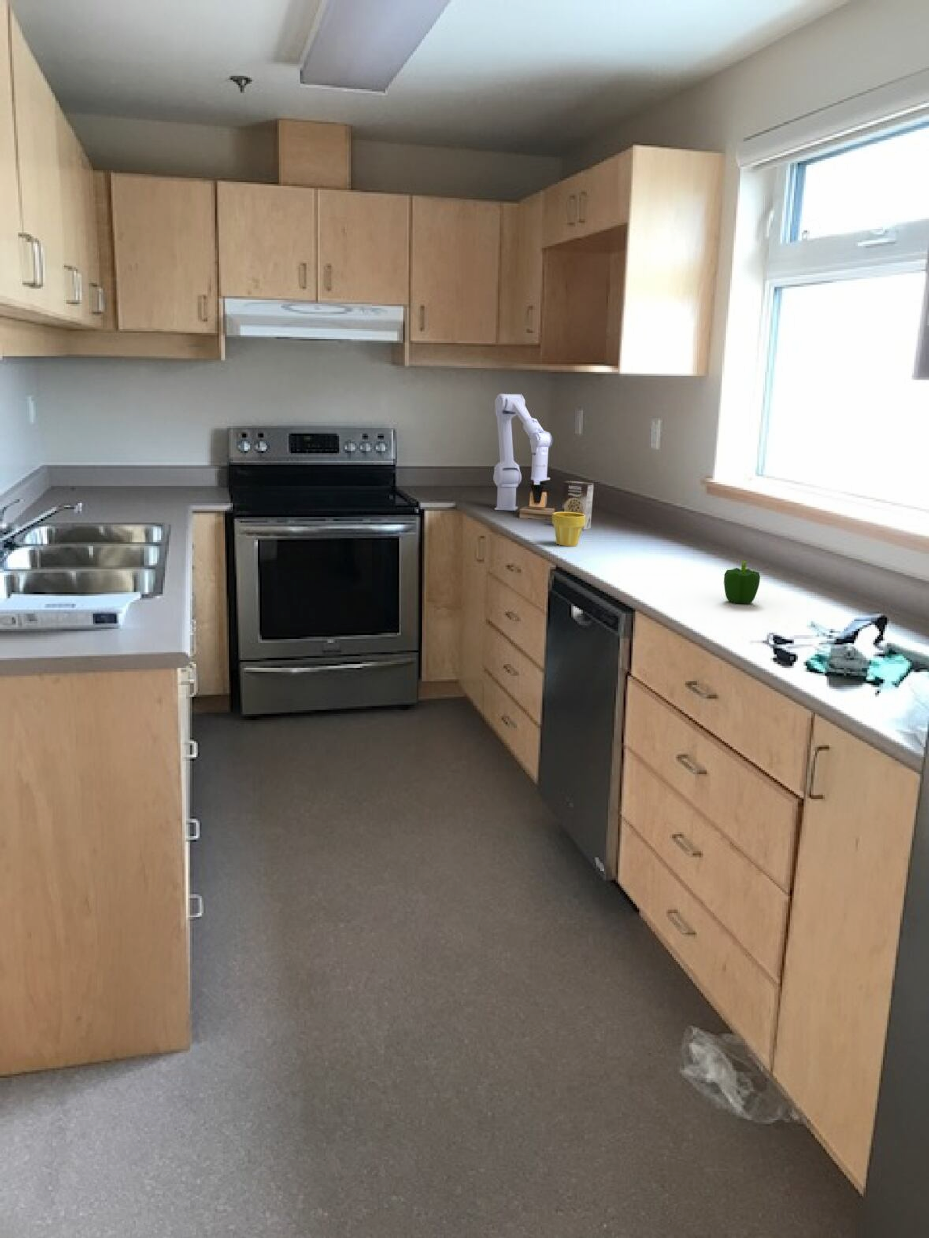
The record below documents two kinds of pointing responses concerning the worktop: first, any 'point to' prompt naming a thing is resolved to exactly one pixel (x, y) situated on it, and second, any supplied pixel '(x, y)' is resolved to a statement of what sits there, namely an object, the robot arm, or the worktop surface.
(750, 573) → the bell pepper
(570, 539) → the plant pot
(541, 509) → the stand
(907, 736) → the worktop surface
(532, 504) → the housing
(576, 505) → the brown cookie box
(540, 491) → the robot arm
